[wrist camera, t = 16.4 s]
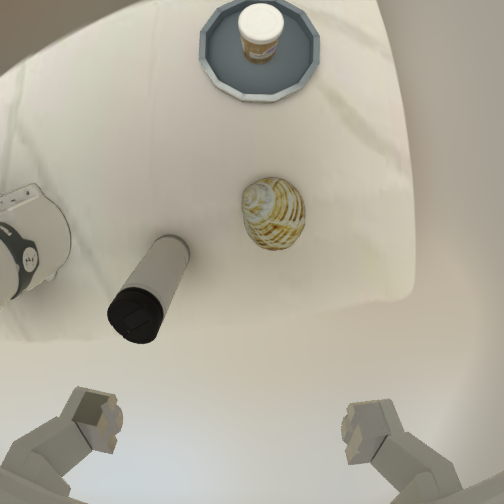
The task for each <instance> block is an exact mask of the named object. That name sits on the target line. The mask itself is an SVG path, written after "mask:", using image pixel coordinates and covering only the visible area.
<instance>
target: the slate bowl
mask: <svg viewBox="0 0 504 504" xmlns="http://www.w3.org/2000/svg"><path fill="white" fill-rule="evenodd" d="M257 3H264V4H269V5H272V6H274V7H275V8H276V9H278V10H279V11H280V13H281V14H282V16H283V19H284V27H283V30H282V33H281V35H280V36H279V38H278V43H277V47H276V50H275V54H274V56H273V58H272V59H271V60H270V61H269V62H266V63H263V64H255V63H252V62H250V61H248V60H247V59H246V58H245V56H244V54H243V48H242V42H241V33H240V31H239V27H238V19H239V16H240V14H241V12H242V11H243V10H244V9H245V8H246V7H248V6H250V5H253V4H257ZM319 52H320V36H319V34H318V32H317V31H316V29H315V27H314V26H313V24H312V23H311V21H310V20H309V18H308V17H307V15H306V13H305V12H304V11H303V10H301V9H299V8H297V7H296V6H294V5H292V4H290V3H288V2H286V1H284V0H234V1H232V2H230V3H227V4H225V5H223V6H221V7H219V8H217V9H216V11H215V12H214V13H213V15H212V16H211V17H210V19H209V20H208V21H207V23H206V24H205V26H204V27H203V28H202V30H201V31H200V43H199V61H200V63H201V64H202V66H203V67H204V69H205V71H206V72H207V74H208V76H209V77H210V79H211V81H212V82H213V84H214V85H215V86H216V87H217V88H218V89H220V90H222V91H224V92H226V93H227V94H229V95H231V96H233V97H235V98H236V99H238V100H240V101H242V102H261V103H274V102H276V101H278V100H280V99H282V98H284V97H286V96H288V95H290V94H292V93H295V92H297V91H299V90H300V89H302V88H303V87H304V85H305V84H306V82H307V81H308V79H309V78H310V76H311V75H312V73H313V72H314V71H315V69H316V68H317V66H318V65H319Z"/></svg>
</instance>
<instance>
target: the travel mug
mask: <svg viewBox="0 0 504 504" xmlns="http://www.w3.org/2000/svg"><path fill="white" fill-rule="evenodd" d="M189 257H190V253H189V249H188V247H187V245H186V243H185V242H184V241H183V240H181V239H180V238H178V237H176V236H172V235H166V236H162V237H160V238H159V239H158V240H156V242H155V243H154V244H153V246H152V247H151V248H150V250H149V251H148V252H147V253H146V255H145V256H144V258H143V259H142V260H141V262H140V263H139V264H138V266H137V267H136V268H135V270H134V271H133V272H132V274H131V275H130V277H129V278H128V279H127V281H126V282H125V284H124V285H123V286H122V288H121V289H120V291H119V292H118V294H117V295H116V297H115V299H114V300H113V302H112V303H111V304H110V306H109V308H108V311H107V316H108V320H109V322H110V324H111V326H112V325H113V327H114V329H115V330H116V331H117V332H118V333H119V334H120V335H122V336H123V338H125V339H126V340H128V341H130V342H133V343H137V344H146V343H149V342H151V341H153V340H154V339H155V338H156V336H157V333H158V331H159V328H160V326H161V324H162V322H163V320H164V317H165V315H166V313H167V310H168V308H169V305H170V303H171V301H172V298H173V296H174V294H175V291H176V289H177V287H178V284H179V282H180V280H181V277H182V275H183V273H184V270H185V268H186V266H187V263H188V261H189Z"/></svg>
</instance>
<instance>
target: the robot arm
mask: <svg viewBox="0 0 504 504" xmlns="http://www.w3.org/2000/svg"><path fill="white" fill-rule="evenodd" d="M28 191H29V193H28ZM70 243H71V242H70V233H69V228H68V225H67V223H66V220H65V218H64V216H63V214H62V213H61V211H60V210H59V209H58V208H57V206H56V205H55V204H54V203H52V202H51V201H50V200H48V199H47V198H46V197H45V196H44V195H43V193H42V192H41V190H40V189H39V187H38V186H37V185H36V184H31V185H28V186H26V187H23V188H21V189H19V190H16V191H14V192H12V193H9V194H7V195H5V196H2V197H0V309H1V308H2V307H3V306H4V305H5V304H6V303H7V302H8V301H9V300H11V299H14V298H15V297H17V296H18V295H20V294H21V293H22V292H23V291H24V290H27V291H30V290H31V289H33V288H34V287H36V286H37V285H38V284H40V283H41V282H42V281H44V280H45V281H51V280H53V279H54V277H55V275H56V272H57V269H58V268H59V267H60V266H61V265H62V264H63V263H64V262H65V261H66V259H67V257H68V255H69V251H70ZM116 403H117V398H116V396H115V394H110V393H106V392H101V391H96V390H92V389H88V388H83V387H79V386H78V387H76V388H75V389H74V390H73V392H72V394H71V396H70V398H69V400H68V401H67V403H66V405H65V407H64V409H63V411H62V413H61V415H60V417H55V418H53V419H51V420H49V421H48V422H46V423H44V424H43V425H41V426H39V427H38V428H36V429H34V430H33V431H31V432H30V433H28V434H26V435H24V436H23V437H21V438H19V439H17V440H16V441H14V442H13V443H12V445H11V447H10V449H9V451H8V453H7V455H6V457H5V459H4V461H3V463H2V465H1V466H0V504H87V503H84V502H81V501H78V500H75V499H72V498H70V497H68V496H69V492H70V490H71V488H70V486H69V485H68V484H67V483H66V482H65V481H64V479H63V478H62V477H63V476H64V475H65V474H66V473H67V472H68V471H70V470H71V469H72V468H73V467H74V466H76V465H77V464H78V463H79V462H80V461H81V460H83V459H84V458H85V457H86V456H87V455H88V454H89V453H91V452H92V450H95V451H100V452H104V453H109V454H113V451H114V448H115V445H116V442H117V439H116V437H115V435H116V434H117V433H119V432H120V431H121V428H122V424H123V414H122V410H121V408H120V407H119V406H117V405H116ZM347 413H348V414H347V415H346V416H345V417H344V418H343V421H342V426H341V432H342V439H343V441H344V442H345V443H346V444H347V445H348V446H347V448H346V450H345V452H346V456H347V461H348V465H353V464H362V463H369V462H371V464H372V465H373V467H375V468H376V469H377V470H378V472H379V473H381V475H382V476H383V477H384V478H386V480H388V481H389V482H390V483H391V484H392V485H393V486H394V487H395V488H396V489H397V490H398V491H399V492H400V494H399V495H398V496H397V497H396V498H395V499H394V500H393V501H392V502H391V503H390V504H504V471H502V472H500V473H498V474H496V475H495V476H492V477H490V478H488V479H486V480H484V481H482V482H480V483H477V484H475V485H473V486H471V487H468V488H466V489H463V488H462V486H461V483H460V481H459V478H458V476H457V473H456V471H455V469H454V466H453V464H452V462H450V461H449V460H447V459H446V458H444V457H443V456H442V455H440V454H439V453H437V452H436V451H434V450H433V449H432V448H430V447H429V446H427V445H425V444H424V443H423V442H422V441H420V440H419V439H418V438H416V437H415V436H413V435H412V434H411V433H409V432H404V429H403V427H402V424H401V422H400V419H399V417H398V414H397V412H396V410H395V407H394V405H393V402H392V400H390V399H383V400H373V401H365V402H357V403H350V404H349V405H348V408H347Z"/></svg>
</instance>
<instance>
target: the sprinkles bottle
mask: <svg viewBox="0 0 504 504" xmlns="http://www.w3.org/2000/svg"><path fill="white" fill-rule="evenodd" d="M238 27H239V31H240V33H241V42H242V48H243V54H244V56H245V58H246V59H247V60H248V61H250V62H252V63H255V64H263V63H266V62H269V61H270V60H271V59H272V58H273V56H274V54H275V50H276V47H277V43H278V38H279V36H280V35H281V33H282V30H283V27H284V19H283V16H282V14H281V13H280V11H279V10H278V9H276V8H275V7H274V6H272V5H269V4H264V3H257V4H253V5H250V6H248V7H246V8H245V9H244V10H243V11H242V12H241V14H240V16H239V19H238Z"/></svg>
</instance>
